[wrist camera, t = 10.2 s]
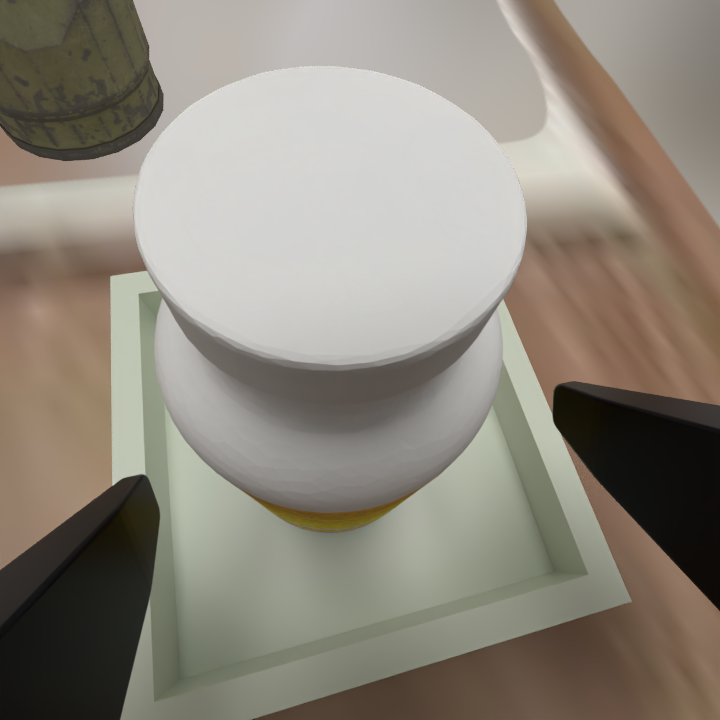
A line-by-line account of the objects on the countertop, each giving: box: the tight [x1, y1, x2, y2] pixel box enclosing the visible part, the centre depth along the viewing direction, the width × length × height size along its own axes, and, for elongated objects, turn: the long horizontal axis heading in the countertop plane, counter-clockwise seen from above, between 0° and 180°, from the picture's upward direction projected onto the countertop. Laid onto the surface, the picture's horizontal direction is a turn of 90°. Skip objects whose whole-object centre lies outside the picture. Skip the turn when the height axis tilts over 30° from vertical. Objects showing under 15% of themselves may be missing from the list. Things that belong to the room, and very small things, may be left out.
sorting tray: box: [111, 271, 632, 720], centre depth 16 cm, size 15×15×3 cm
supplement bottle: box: [133, 66, 527, 533], centre depth 11 cm, size 7×7×13 cm
